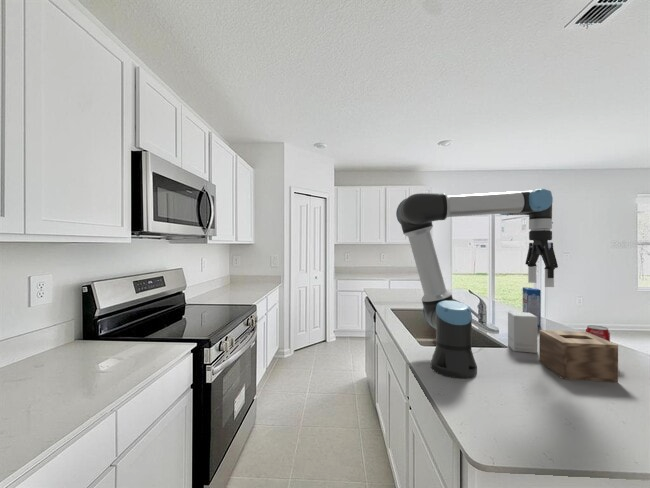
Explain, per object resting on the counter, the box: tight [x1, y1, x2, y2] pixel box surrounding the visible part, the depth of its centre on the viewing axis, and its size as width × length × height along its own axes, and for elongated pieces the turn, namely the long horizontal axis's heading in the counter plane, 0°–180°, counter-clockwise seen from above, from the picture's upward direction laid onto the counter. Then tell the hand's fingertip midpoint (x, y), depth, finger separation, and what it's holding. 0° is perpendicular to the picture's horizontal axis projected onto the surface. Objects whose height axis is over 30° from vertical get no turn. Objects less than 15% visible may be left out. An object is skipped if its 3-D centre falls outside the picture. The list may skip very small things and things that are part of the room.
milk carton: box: [522, 286, 542, 328], centre depth 179 cm, size 10×6×20 cm, turn 161°
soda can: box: [585, 325, 611, 342], centre depth 123 cm, size 7×7×13 cm
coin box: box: [538, 329, 619, 383], centre depth 114 cm, size 16×16×12 cm
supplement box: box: [507, 311, 538, 354], centre depth 138 cm, size 9×9×15 cm
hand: (540, 284), depth 126 cm, fingers open, 13 cm apart
